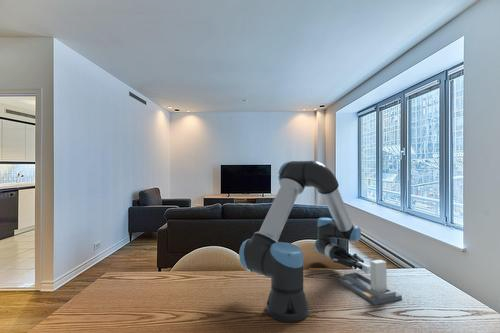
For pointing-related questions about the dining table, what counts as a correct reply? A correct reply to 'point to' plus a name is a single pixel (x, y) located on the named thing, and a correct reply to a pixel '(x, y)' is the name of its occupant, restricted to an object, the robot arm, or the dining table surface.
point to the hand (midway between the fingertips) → (369, 269)
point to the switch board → (367, 288)
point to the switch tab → (378, 276)
